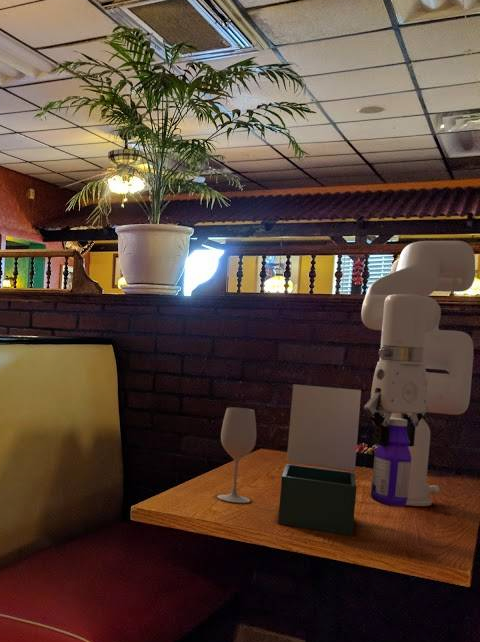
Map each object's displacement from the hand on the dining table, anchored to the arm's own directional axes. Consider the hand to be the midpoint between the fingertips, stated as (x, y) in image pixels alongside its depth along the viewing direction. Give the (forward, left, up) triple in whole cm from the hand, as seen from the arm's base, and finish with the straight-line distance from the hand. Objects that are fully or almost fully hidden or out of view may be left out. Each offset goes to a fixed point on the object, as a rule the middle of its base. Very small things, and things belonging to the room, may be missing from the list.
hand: (393, 444), depth 151 cm
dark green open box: (+9, -9, -18) cm, 22 cm away
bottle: (0, 0, -12) cm, 12 cm away
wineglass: (+16, -27, -18) cm, 36 cm away
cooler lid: (+3, -16, +1) cm, 16 cm away
